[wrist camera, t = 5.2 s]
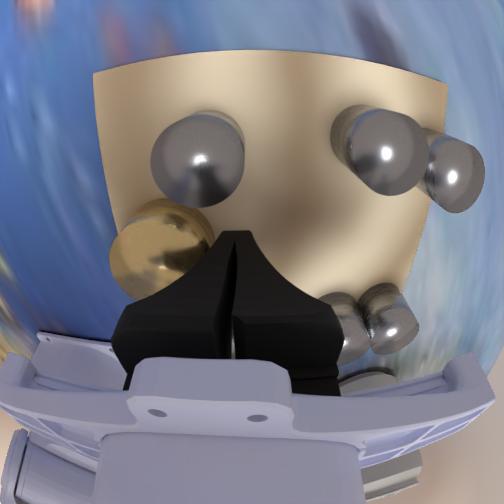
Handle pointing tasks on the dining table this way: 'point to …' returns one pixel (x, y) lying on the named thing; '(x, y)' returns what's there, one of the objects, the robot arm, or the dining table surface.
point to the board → (277, 156)
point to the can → (391, 471)
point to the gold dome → (158, 246)
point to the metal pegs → (358, 162)
